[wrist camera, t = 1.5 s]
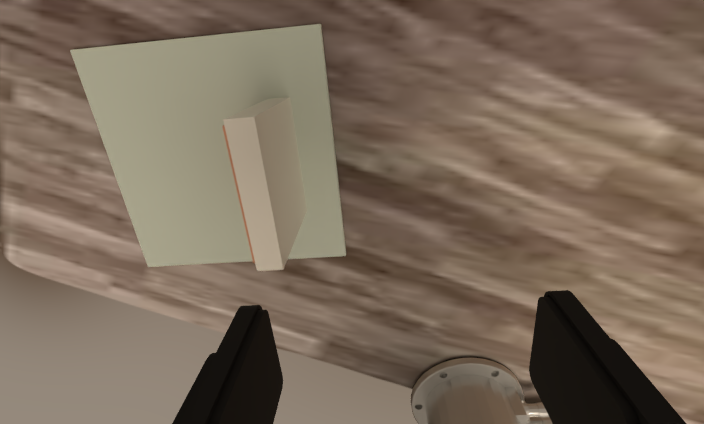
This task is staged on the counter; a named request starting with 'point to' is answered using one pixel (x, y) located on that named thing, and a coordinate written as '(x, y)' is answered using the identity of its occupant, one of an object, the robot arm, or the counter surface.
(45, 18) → the counter surface
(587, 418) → the robot arm
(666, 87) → the counter surface
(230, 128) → the tile
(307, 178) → the mat
